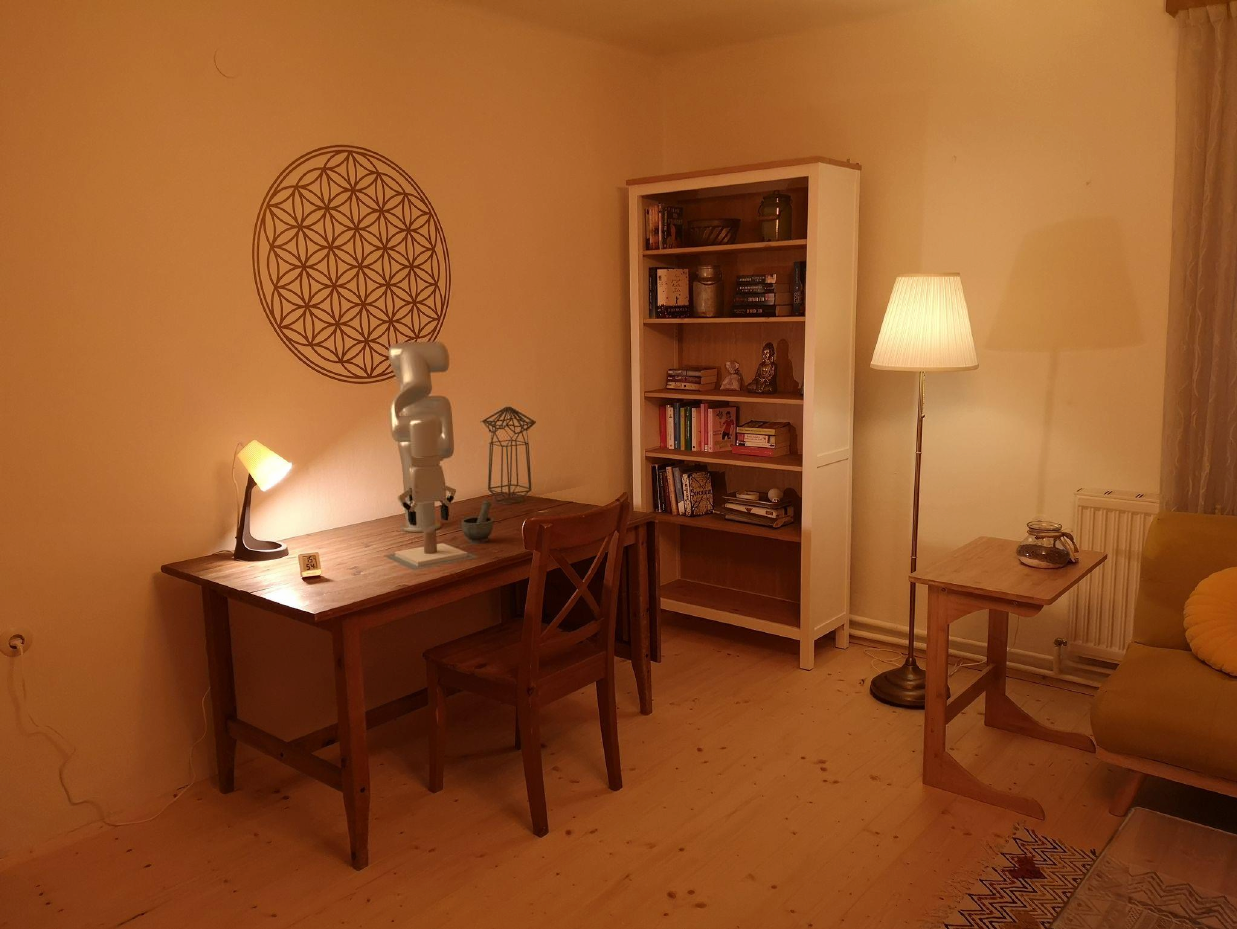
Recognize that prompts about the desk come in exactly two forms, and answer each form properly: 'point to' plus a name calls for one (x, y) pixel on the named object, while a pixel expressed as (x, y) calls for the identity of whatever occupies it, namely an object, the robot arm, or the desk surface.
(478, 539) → the mortar and pestle
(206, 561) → the desk surface
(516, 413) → the geometric lantern
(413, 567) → the slate mat
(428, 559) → the cover board
